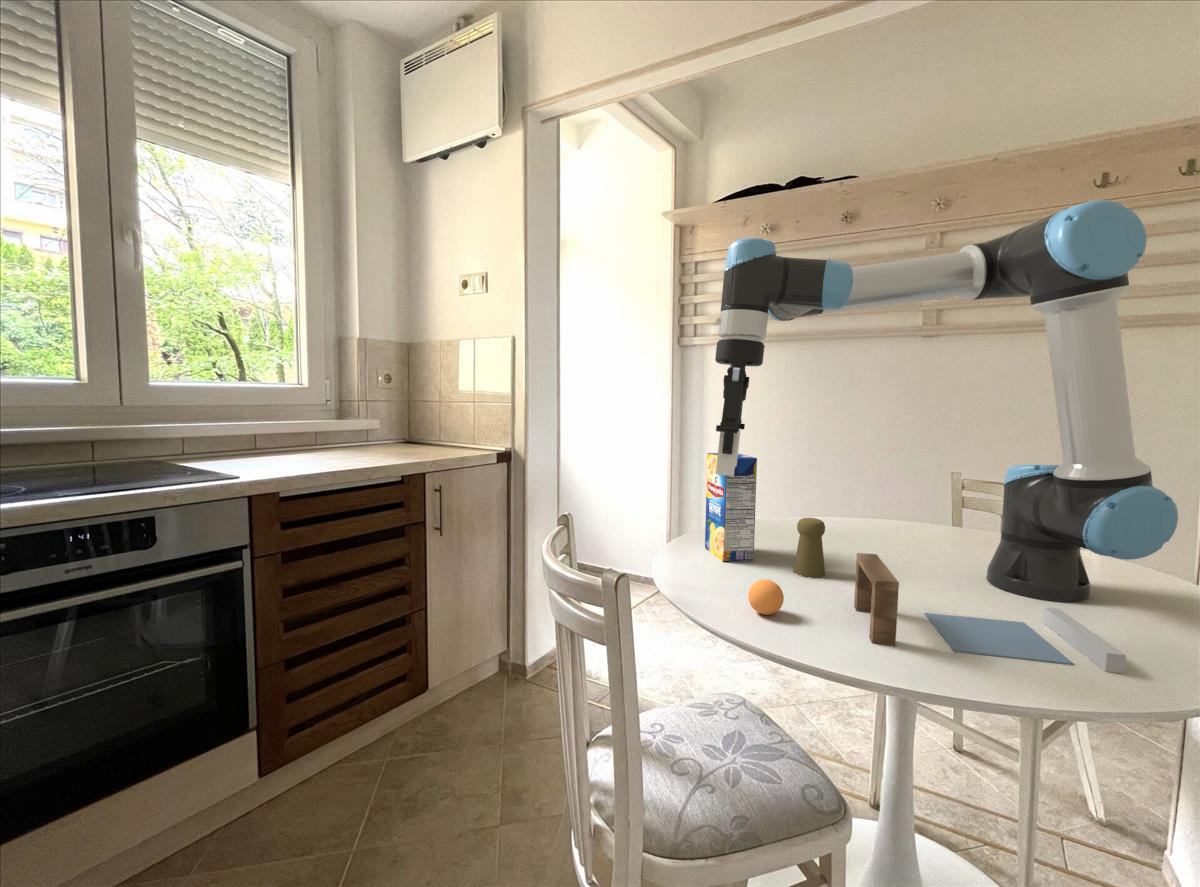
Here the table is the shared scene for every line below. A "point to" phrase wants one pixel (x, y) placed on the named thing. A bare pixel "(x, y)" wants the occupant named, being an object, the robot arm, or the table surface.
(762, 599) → the ball
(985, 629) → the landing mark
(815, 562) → the cork
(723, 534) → the beverage box
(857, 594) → the bridge
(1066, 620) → the wall
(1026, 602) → the table surface
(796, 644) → the table surface
